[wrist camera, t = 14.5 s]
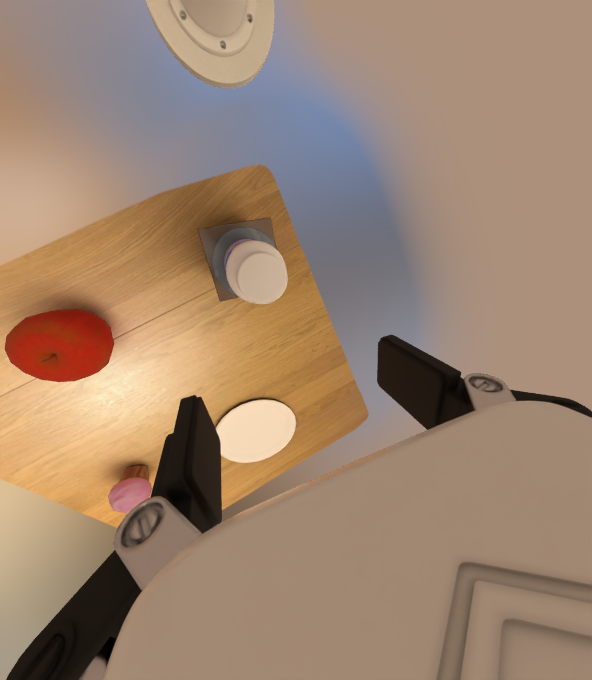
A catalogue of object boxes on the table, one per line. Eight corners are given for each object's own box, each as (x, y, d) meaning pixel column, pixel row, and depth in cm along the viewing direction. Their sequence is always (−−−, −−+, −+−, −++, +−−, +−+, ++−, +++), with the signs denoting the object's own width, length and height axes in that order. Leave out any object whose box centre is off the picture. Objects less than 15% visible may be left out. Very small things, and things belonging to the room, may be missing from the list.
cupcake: (115, 462, 58) (98, 502, 49) (154, 455, 61) (143, 491, 52) (123, 484, 61) (108, 525, 53) (159, 476, 64) (150, 514, 55)
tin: (203, 233, 26) (201, 232, 23) (267, 223, 28) (274, 221, 25) (223, 296, 30) (224, 304, 27) (278, 284, 32) (285, 290, 28)
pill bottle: (241, 227, 24) (255, 223, 15) (280, 260, 26) (309, 271, 18) (213, 269, 25) (212, 286, 16) (253, 297, 27) (270, 324, 19)
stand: (205, 231, 43) (197, 228, 26) (250, 224, 45) (270, 217, 28) (219, 277, 47) (220, 301, 30) (259, 269, 49) (282, 287, 32)
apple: (43, 344, 42) (-27, 387, 30) (55, 287, 40) (-16, 309, 28) (119, 361, 48) (86, 404, 36) (135, 313, 45) (105, 341, 33)
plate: (195, 446, 64) (194, 450, 63) (250, 383, 61) (250, 386, 60) (261, 467, 76) (262, 471, 75) (309, 416, 73) (311, 419, 72)
